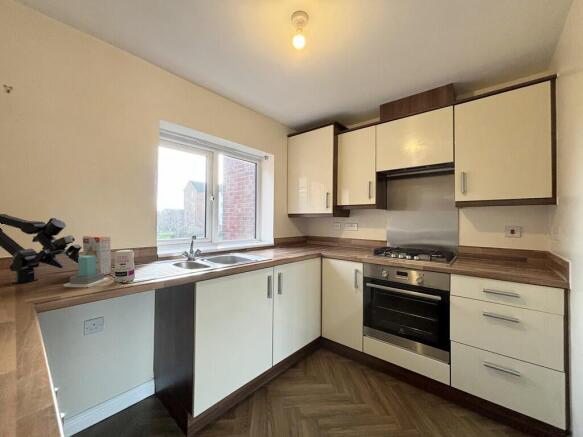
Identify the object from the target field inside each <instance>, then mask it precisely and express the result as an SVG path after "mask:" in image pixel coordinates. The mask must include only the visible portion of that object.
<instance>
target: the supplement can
mask: <svg viewBox="0 0 583 437" xmlns="http://www.w3.org/2000/svg"><path fill="white" fill-rule="evenodd" d="M113 256H114V258H113V260H114V281H115V282H116V283H118V282H123V283H126V282H125V281H129V282H131V280H132V281H134V280H135V273H136V272H135V252H134V251H133V249H121V250H116V251H115V253H114V255H113Z"/></svg>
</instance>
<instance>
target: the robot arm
mask: <svg viewBox="0 0 583 437" xmlns="http://www.w3.org/2000/svg"><path fill="white" fill-rule="evenodd" d="M0 223H1V224H5V226H8V227H12V228H16V229H19V230H20V231H21V232H22V233H24V234H26V235H33V238H32V241H31V242H32V243H40V244H39V245H41V246H42V248H41V249H42V250H39V252H38V251H36V250H35V249H33V248H24V247H22V246H21V245H20V244H19V243H18V242H16V241H15V240H14V239H13V238H12V237H10V236H9V235H8V234H7V233H5V232H4V231H3V230H4V229H3V230H2V229H1V228H0V248H1V249H4V251H6V252H7V253H8V254H9V255H10V256H12V262H13V263H11V264H10V265H9V270H10V272H15V281H12V282H11V283H12V284H26V283H30V282H31V283H32V282H34V281H38V280H39V279H38V278H36V276H35V275H36V274H35V269H36V268H39V266H40V263H41V264H46V265H48V266H52V267H56V268H58V269H63V268H64V265H63V264H62V263H61V262H60V260H59V259H58V258H57V257H56V256H60V255H66V256H67V257H68V259H70V261H71V260H72V261H73V262H74V263H77V264H78V257H80V255H79V252H80V251H81V249H83V246H81V245H80V244H73V245H70V244H72V243H74V242H75V240H76V239H75V237H74V236H73V235H71V234H70V235H67V236H63V237H60V238H56V237H55V236H58V235H59V234H60V233H61V232H62V231H63V230H64V229H65V228H66V226H67V224H66V223H65V222H64V221H62V220H60V219H58V218H55V217H52V218H51V217H50V219H49V220H48V221H47V222H46V223H45V222H44V221H37V220H27V219H22V218H19V217H15V216H12V215H8V214H7V213H0ZM69 245H70V246H69ZM66 248H67V249H66Z"/></svg>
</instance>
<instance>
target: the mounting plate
mask: <svg viewBox="0 0 583 437" xmlns="http://www.w3.org/2000/svg"><path fill="white" fill-rule="evenodd" d="M109 280H110V277H105V275H104V273H96V275H93V276H90V277H79V274H76V275H73V276H70V277H69V282H67V283H64V284H63V287H64V288H87V287H89V288H90V287H94V286H96V285H99V284H103V283H105V282H107V281H109Z"/></svg>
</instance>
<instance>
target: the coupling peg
mask: <svg viewBox="0 0 583 437" xmlns="http://www.w3.org/2000/svg"><path fill="white" fill-rule="evenodd" d="M77 264H78V275H79V277H90V276H93V275H96V263H95V256H84V255H82V256H79V257H78V263H77Z"/></svg>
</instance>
